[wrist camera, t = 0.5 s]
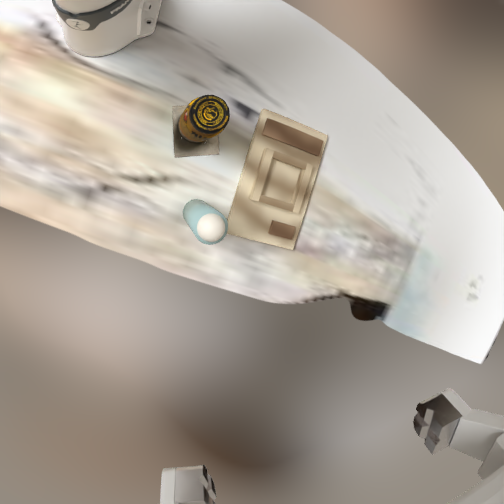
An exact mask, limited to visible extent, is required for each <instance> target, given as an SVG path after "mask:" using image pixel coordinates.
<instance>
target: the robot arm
mask: <svg viewBox="0 0 504 504" xmlns="http://www.w3.org/2000/svg"><path fill="white" fill-rule="evenodd" d="M52 3H53V6H54V7H55V9H56V11H57V13H56V20H57V22H58V23H59V24H60V25H61V26H62V28H63V33H64V39H65V41H66V43H67V45H68V46H69V47H70V48H71V49H72V50H73V51H74V52H76V53H78V54H80V55H84V56H90V57H97V56H104V55H108V54H111V53H114V52H116V51H118V50H120V49H122V48H124V47H125V46H127V45H128V44H129V43H131V42H132V41H134V40H136V39H139V38H142V37H146V36H148V35H151V34H152V33H153V32H154V31H155V27H156V23H157V19H158V15H159V11H160V7H161V3H162V0H52ZM147 22H151V24H147ZM416 410H417V411H418V413H417V414H416V416H415V417H414V421H413V423H414V429H415V431H416V433H417V434H418V436H419V437H421V438H424V439H425V443H424V444H425V445H426V447H427V448H428V450H429V451H430V452H431V454H434V453H436V452H438V451H440V450H442V449H444V448H446V447H448V446H449V447H451V448H453V449H455V450H458V451H460V452H462V453H464V454H467V455H469V456H472V457H474V458H476V459H478V460H481V461H483V463H482V465H481V467H480V468H479V470H478V474H479V476H480V477H481V479H482V481H481V482H479V483H478V484H476V485H475V486H473V487H472V488H470V489H469V490H467V491H466V492H464V493H463V494H461V495H460V496H458V497H456V498H455V499H453V500H451V501H450V502H448V503H446V504H504V416H501V415H498V414H493V413H490V412H486V411H482V410H478V409H474V410H472V409H471V408H470V407H469V406H468V405H467V404H466V403H465V402H464V401H463V400H462V399H461V398H460V397H459V395H458V394H457V393H456V392H455V391H454V390H453V389H451V388H448V389H446V390H444V391H442V392H440V393H437V394H436V395H434V396H432V397H430V398H428V399H426V400H424V401H422V402H420V403H419V404H418V405H417V407H416ZM215 498H216V490H215V485H214V482H213V479H212V477H211V476H210V475H208V474H207V468H206V467H205V465H201V466H191V467H178V468H177V467H176V468H164V469H163V471H162V479H161V497H160V504H215V502H214V499H215Z"/></svg>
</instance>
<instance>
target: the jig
mask: <svg viewBox="0 0 504 504" xmlns="http://www.w3.org/2000/svg"><path fill="white" fill-rule="evenodd" d="M327 137H328V135H325V134H323V133H321V132H319V131H317V130H314V129H312V128H310V127H308V126H305V125H303V124H301V123H298V122H296V121H294V120H291V119H289V118H286V117H284V116H281V115H279V114H276V113H274V112H271V111H269V110H266V109H262V110H261V113H260V116H259V119H258V122H257V125H256V128H255V131H254V135H253V138H252V141H251V144H250V147H249V150H248V154H247V157H246V160H245V163H244V167H243V170H242V173H241V176H240V180H239V183H238V186H237V190H236V193H235V196H234V199H233V203H232V206H231V210H230V213H229V216H228V220H227V223H228V230H227V234H231V235H235V236H239V237H243V238H247V239H251V240H255V241H259V242H263V243H267V244H271V245H275V246H279V247H283V248H287V249H291V250H293V248H294V245H295V242H296V239H297V236H298V233H299V229H300V226H301V223H302V220H303V217H304V214H305V210H306V207H307V204H308V201H309V198H310V194H311V191H312V188H313V184H314V181H315V178H316V175H317V171H318V168H319V165H320V161H321V158H322V154H323V151H324V148H325V144H326V141H327Z"/></svg>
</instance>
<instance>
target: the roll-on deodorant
mask: <svg viewBox="0 0 504 504" xmlns="http://www.w3.org/2000/svg"><path fill="white" fill-rule="evenodd" d="M183 217H184V219H185V221H186V222H187V224H188V225H189V227H190V228H191V230H192V231H193V233H194V234H195V236H196V237H197V239H198V240H199V241H200V242H202V243H204V244H209V245H211V244H216V243H218V242H220V241H221V240H222V239H223V238H224V237H225V236H226V234H227V230H228V223H227V220H226V218H225V216H224V215H223V214H221V213H220V212H219V211H217V210H216V209H214V208H213V207H211V206H210V205H208V204H207V203H205V202H204V201H202V200H199V199H194V200H191V201H189V202H188V203H187V204H186V205H185V207H184V209H183Z"/></svg>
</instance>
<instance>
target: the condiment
mask: <svg viewBox="0 0 504 504" xmlns="http://www.w3.org/2000/svg"><path fill="white" fill-rule="evenodd" d="M229 113H230V112H229V108H228V106H227V104H226V102H225V101H224V100H223V99H221V98H219V97H217V96H214V95H205V96H202V97H199V98H196V99H194V100H193V101H191V103H189V104H188V106H173V134H174V154H175V157H185V156H198V155H214V154H219V141H218V134H219V133H221V132H222V130H224V128H225V127H226V125H227V123H228V121H229V117H230V114H229ZM181 138H182V139H181ZM206 140H208V141H207V142H206ZM205 142H206V144H204V143H205Z"/></svg>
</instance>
